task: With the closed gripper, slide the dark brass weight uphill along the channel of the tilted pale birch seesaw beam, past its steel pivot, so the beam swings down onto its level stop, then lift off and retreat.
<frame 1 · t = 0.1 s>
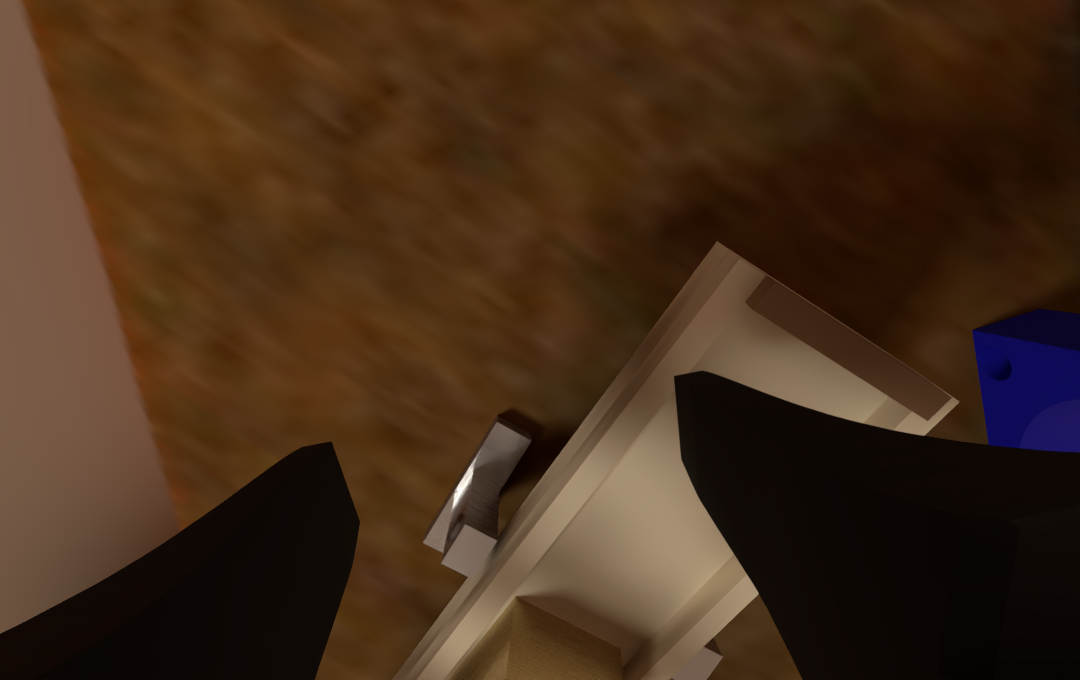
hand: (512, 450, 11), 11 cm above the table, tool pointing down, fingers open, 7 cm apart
pivot stand: (570, 532, 23), on the table
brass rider: (525, 671, 20), point 4 cm above the table, tilted 12°, touching balance beam
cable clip: (1032, 439, 24), on the table
balance beam: (583, 611, 18), point 5 cm above the table, hinge at -12.4°, touching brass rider
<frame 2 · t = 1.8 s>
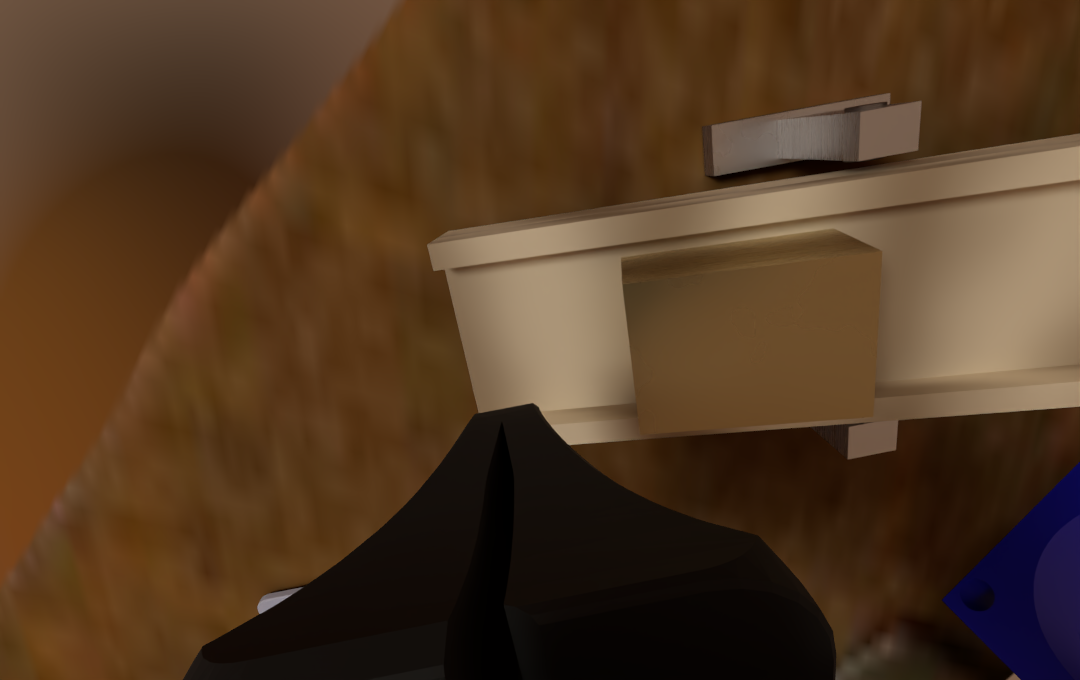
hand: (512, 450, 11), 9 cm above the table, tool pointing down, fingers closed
pivot stand: (789, 265, 20), on the table
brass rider: (727, 313, 16), point 4 cm above the table, tilted 12°, touching balance beam
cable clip: (1053, 524, 26), on the table
balance beam: (869, 300, 16), point 5 cm above the table, hinge at -12.4°, touching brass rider
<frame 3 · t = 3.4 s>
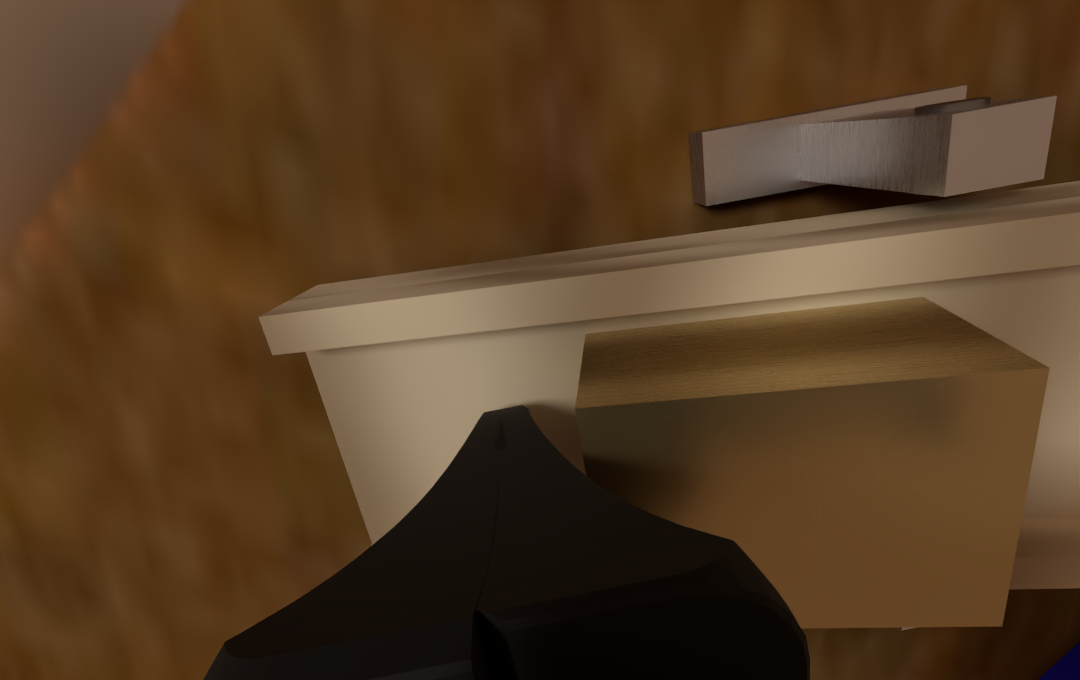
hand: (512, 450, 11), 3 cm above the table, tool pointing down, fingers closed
pivot stand: (811, 325, 14), on the table
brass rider: (748, 418, 11), point 4 cm above the table, tilted 12°, touching balance beam, gripper
balance beam: (946, 408, 10), point 5 cm above the table, hinge at -12.4°, touching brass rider
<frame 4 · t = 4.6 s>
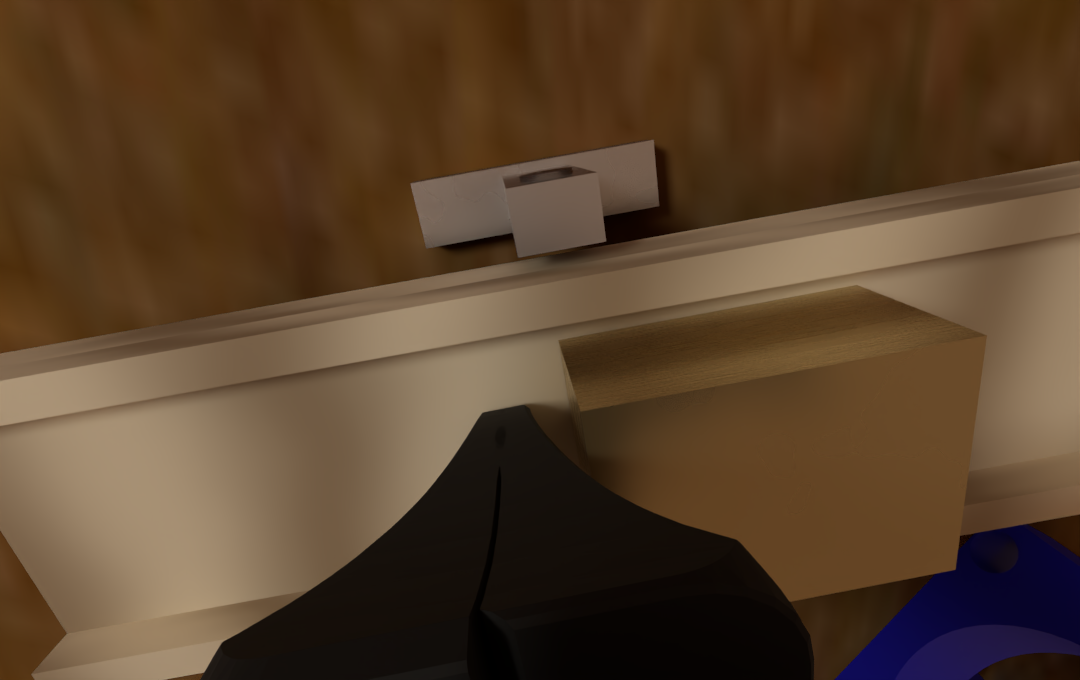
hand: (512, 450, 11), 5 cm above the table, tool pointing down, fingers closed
pivot stand: (562, 352, 16), on the table
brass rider: (714, 410, 11), point 5 cm above the table, touching balance beam, gripper
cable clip: (920, 635, 22), on the table
balance beam: (589, 436, 11), point 5 cm above the table, hinge at -1.0°, touching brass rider
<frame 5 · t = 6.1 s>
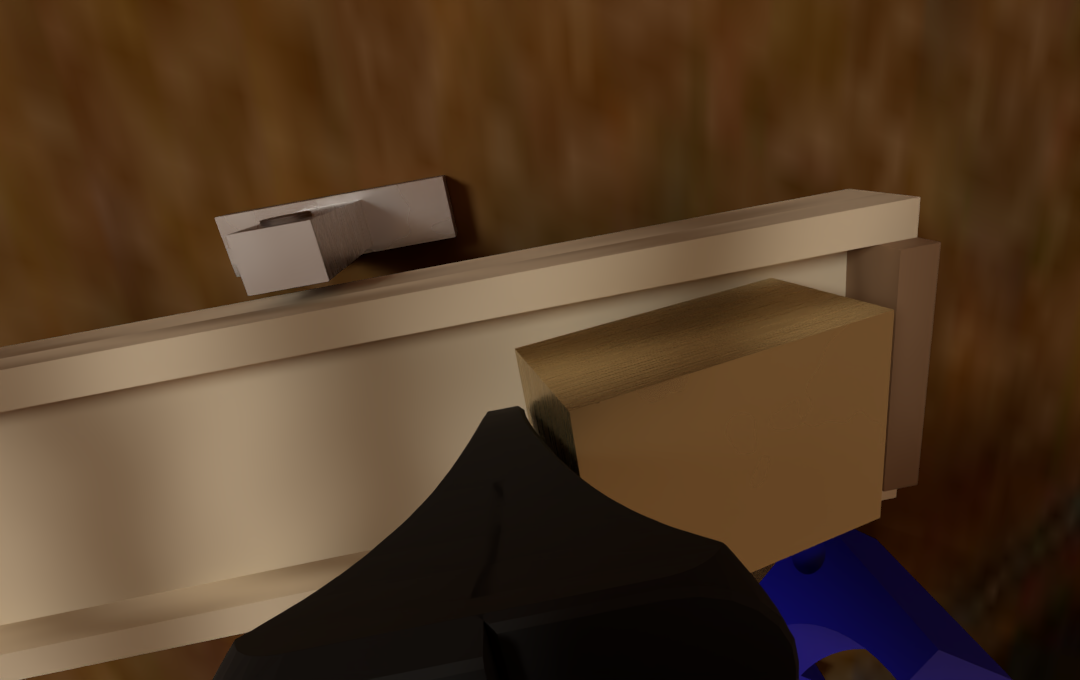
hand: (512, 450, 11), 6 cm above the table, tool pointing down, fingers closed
pivot stand: (389, 371, 17), on the table
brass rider: (660, 403, 12), point 5 cm above the table, tilted 13°, touching gripper
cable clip: (764, 633, 22), on the table
balance beam: (350, 455, 12), point 5 cm above the table, hinge at 0.9°
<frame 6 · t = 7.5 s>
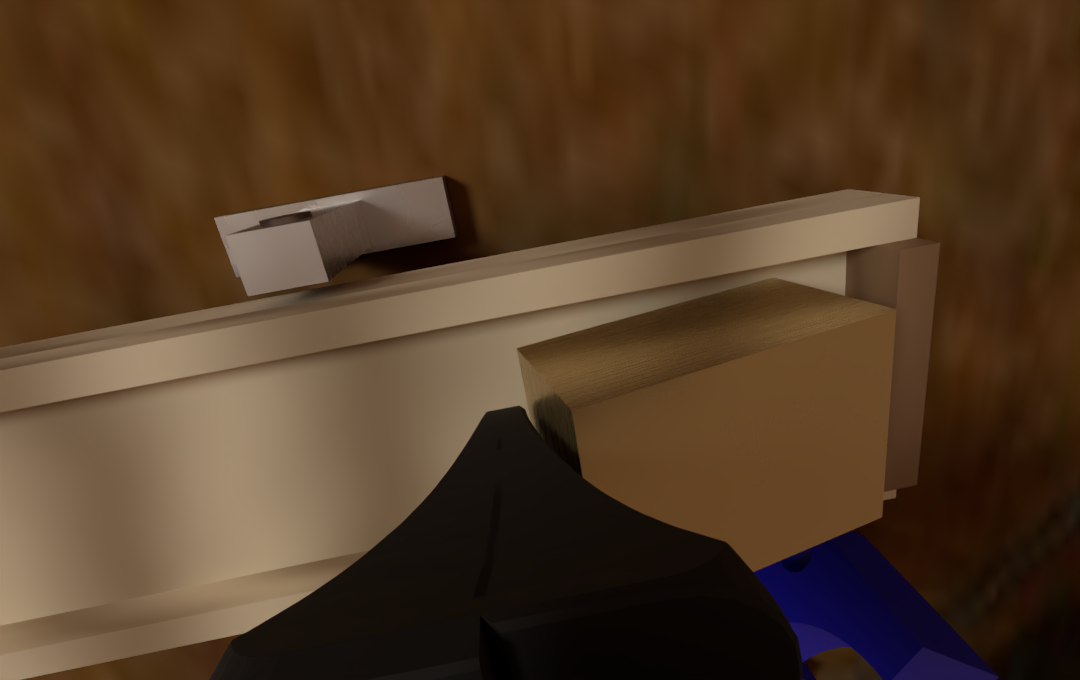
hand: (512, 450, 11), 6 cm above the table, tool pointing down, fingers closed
pivot stand: (388, 371, 17), on the table
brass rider: (662, 403, 12), point 5 cm above the table, tilted 13°, touching balance beam, gripper
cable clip: (754, 631, 22), on the table
balance beam: (350, 455, 12), point 5 cm above the table, hinge at 0.9°, touching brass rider
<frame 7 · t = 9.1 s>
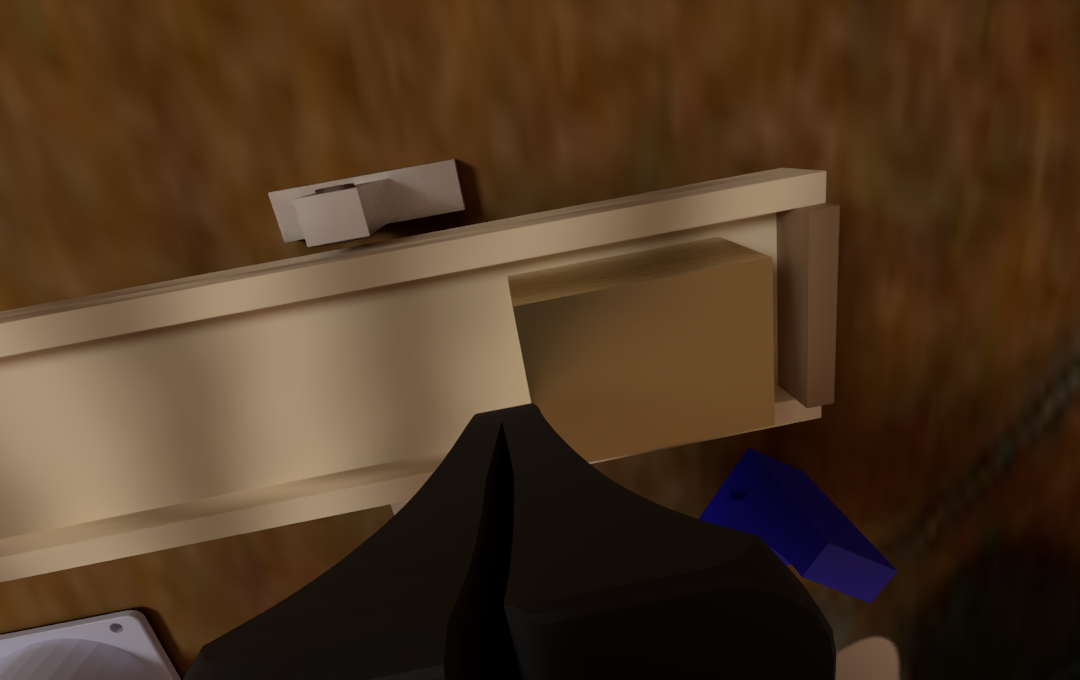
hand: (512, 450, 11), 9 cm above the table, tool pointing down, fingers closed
pivot stand: (407, 325, 20), on the table
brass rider: (622, 329, 16), point 5 cm above the table, touching balance beam
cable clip: (712, 561, 25), on the table
balance beam: (382, 378, 15), point 5 cm above the table, hinge at 0.8°, touching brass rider
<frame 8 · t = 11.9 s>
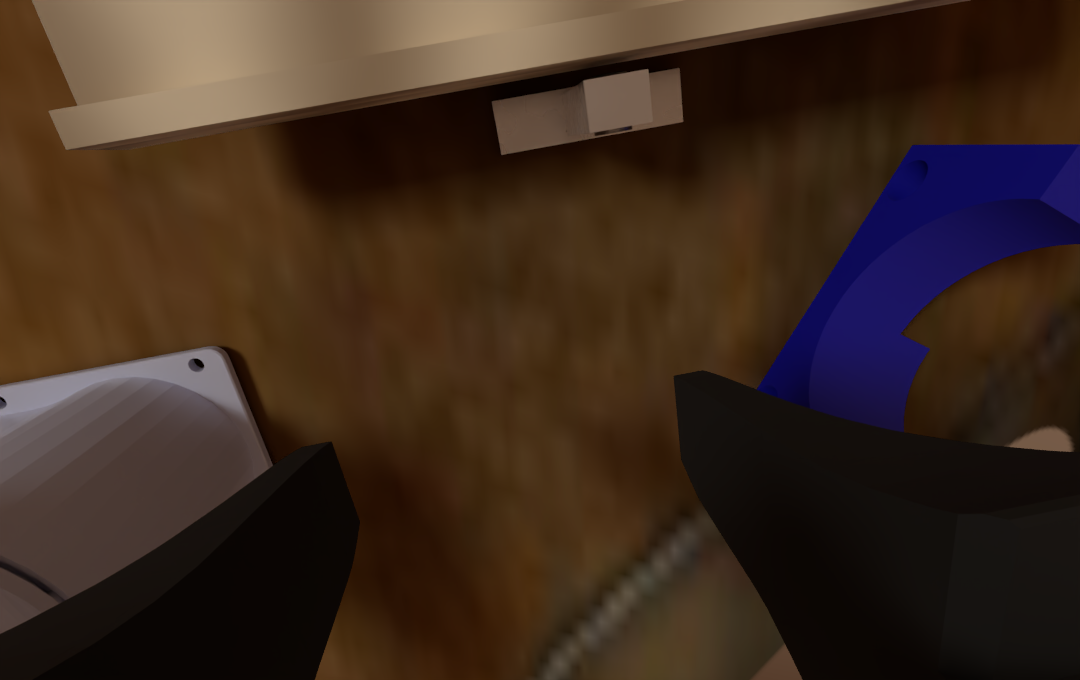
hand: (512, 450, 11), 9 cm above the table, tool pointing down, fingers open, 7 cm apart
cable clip: (856, 313, 22), on the table
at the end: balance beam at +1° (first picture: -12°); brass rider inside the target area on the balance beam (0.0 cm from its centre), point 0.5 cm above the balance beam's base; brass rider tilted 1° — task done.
